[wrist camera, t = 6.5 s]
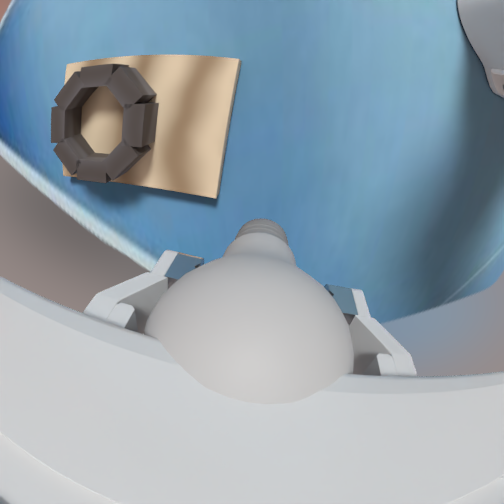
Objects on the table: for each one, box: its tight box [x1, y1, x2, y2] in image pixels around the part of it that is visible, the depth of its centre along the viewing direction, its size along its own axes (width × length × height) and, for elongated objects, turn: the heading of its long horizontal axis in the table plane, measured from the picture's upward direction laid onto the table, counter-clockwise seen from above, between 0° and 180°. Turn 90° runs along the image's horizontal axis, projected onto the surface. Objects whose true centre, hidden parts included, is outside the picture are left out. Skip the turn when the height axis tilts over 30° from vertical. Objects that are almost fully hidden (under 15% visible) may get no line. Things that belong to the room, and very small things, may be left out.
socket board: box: [51, 55, 241, 198], centre depth 23 cm, size 20×14×4 cm
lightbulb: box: [144, 219, 354, 404], centre depth 10 cm, size 6×6×11 cm
